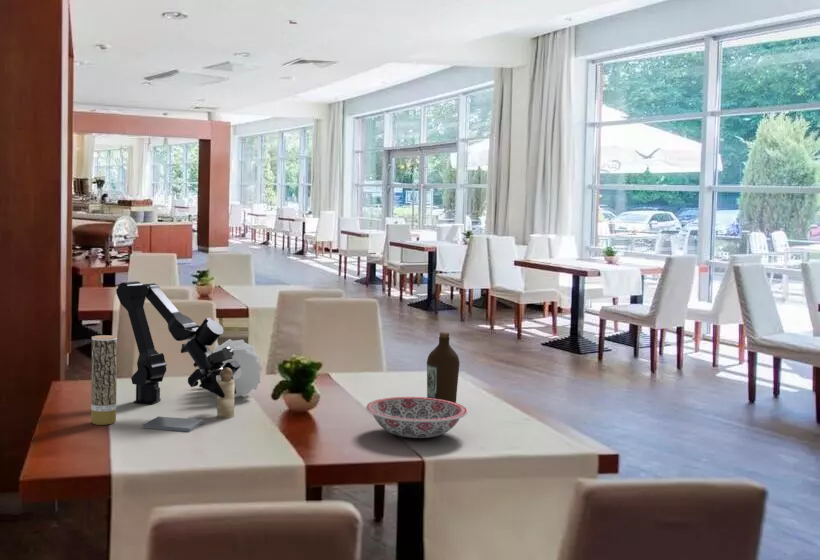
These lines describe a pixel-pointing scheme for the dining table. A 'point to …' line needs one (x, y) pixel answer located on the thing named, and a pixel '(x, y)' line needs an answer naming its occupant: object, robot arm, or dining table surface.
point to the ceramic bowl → (416, 415)
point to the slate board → (173, 424)
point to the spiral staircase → (243, 366)
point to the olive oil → (442, 371)
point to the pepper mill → (226, 394)
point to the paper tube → (103, 379)
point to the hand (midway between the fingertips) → (229, 395)
